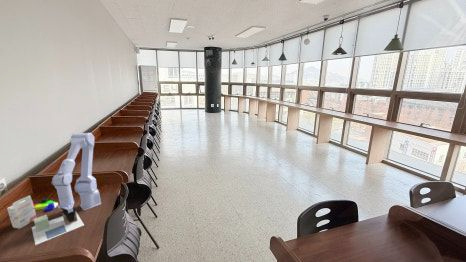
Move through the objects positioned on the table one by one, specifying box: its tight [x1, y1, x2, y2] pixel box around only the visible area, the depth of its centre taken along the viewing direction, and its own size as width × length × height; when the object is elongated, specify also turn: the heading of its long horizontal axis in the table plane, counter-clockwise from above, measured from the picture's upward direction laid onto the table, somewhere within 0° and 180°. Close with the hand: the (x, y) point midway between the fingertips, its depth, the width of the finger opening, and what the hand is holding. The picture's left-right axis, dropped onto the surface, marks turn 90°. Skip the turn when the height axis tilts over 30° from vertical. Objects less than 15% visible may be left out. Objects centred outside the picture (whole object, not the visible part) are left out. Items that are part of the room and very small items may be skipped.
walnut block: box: [61, 211, 78, 225], centre depth 116 cm, size 5×5×5 cm
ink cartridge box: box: [6, 195, 38, 229], centre depth 114 cm, size 9×5×15 cm, turn 168°
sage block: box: [33, 214, 50, 232], centre depth 111 cm, size 5×5×5 cm
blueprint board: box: [31, 210, 85, 246], centre depth 112 cm, size 19×18×1 cm
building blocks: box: [33, 197, 59, 213], centre depth 130 cm, size 15×13×4 cm
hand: (70, 218), depth 116 cm, fingers closed on walnut block, 5 cm apart
